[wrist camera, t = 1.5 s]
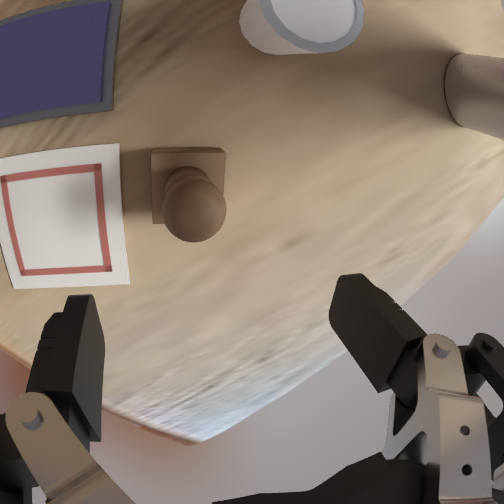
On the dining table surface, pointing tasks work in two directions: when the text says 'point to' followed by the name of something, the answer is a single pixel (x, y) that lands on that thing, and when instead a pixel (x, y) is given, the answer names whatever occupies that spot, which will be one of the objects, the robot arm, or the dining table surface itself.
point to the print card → (63, 217)
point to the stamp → (188, 191)
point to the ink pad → (58, 60)
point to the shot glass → (301, 25)
